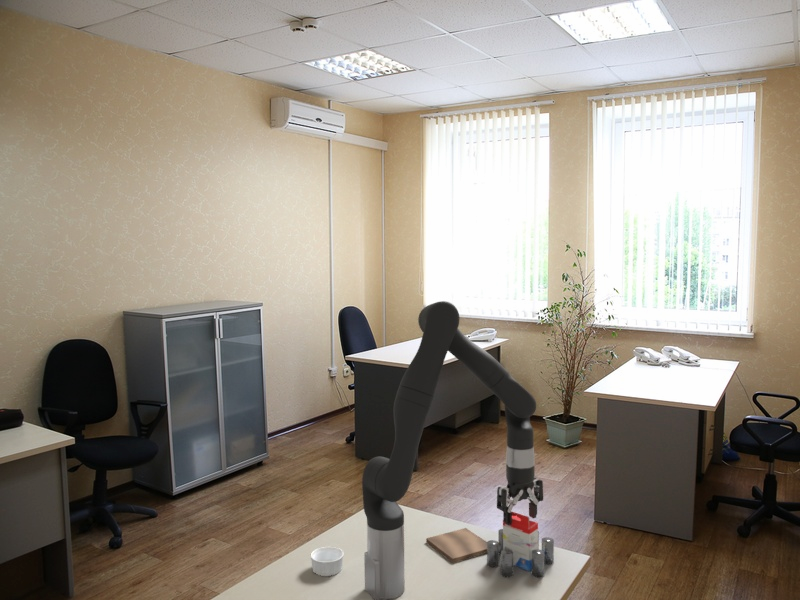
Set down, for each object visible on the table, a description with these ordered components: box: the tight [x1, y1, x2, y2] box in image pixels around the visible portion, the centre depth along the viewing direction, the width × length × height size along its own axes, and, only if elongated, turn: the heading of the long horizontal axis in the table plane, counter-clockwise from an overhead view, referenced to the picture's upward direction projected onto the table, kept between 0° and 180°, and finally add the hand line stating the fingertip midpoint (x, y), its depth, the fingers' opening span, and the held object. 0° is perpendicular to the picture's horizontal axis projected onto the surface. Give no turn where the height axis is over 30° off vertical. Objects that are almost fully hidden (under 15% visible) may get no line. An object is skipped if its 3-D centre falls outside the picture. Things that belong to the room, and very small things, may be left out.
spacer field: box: [486, 528, 555, 579], centre depth 164 cm, size 17×17×6 cm
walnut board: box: [425, 527, 488, 564], centre depth 174 cm, size 14×14×1 cm
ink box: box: [502, 510, 539, 572], centre depth 164 cm, size 8×5×15 cm, turn 47°
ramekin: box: [310, 546, 345, 577], centre depth 162 cm, size 9×9×4 cm
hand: (520, 520), depth 164 cm, fingers open, 8 cm apart
